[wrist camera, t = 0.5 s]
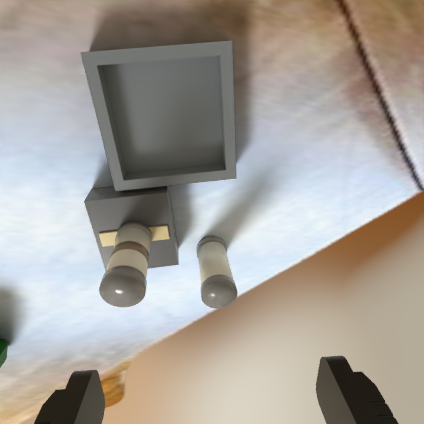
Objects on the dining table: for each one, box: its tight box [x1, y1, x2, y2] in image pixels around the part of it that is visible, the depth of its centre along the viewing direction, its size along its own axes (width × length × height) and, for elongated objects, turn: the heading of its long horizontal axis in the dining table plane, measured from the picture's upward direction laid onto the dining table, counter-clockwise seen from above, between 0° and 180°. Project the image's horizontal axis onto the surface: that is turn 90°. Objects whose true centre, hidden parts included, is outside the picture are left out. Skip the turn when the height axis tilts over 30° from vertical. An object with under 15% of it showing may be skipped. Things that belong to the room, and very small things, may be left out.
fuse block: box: [84, 186, 178, 270], centre depth 32 cm, size 9×8×3 cm
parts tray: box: [81, 40, 236, 191], centre depth 28 cm, size 12×12×2 cm
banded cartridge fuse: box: [99, 222, 152, 307], centre depth 27 cm, size 4×4×8 cm
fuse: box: [197, 236, 237, 308], centre depth 33 cm, size 4×4×8 cm
